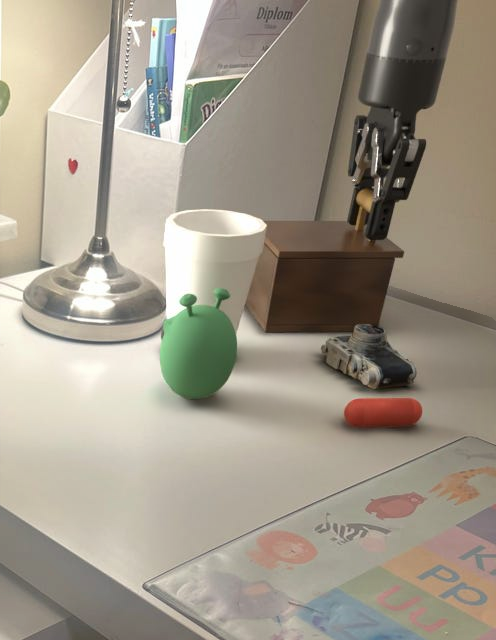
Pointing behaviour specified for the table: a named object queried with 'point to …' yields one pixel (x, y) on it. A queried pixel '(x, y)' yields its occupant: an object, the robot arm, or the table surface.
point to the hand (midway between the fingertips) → (366, 230)
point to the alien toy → (198, 348)
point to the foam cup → (211, 258)
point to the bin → (318, 292)
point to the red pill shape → (382, 412)
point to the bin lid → (329, 237)
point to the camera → (369, 358)
